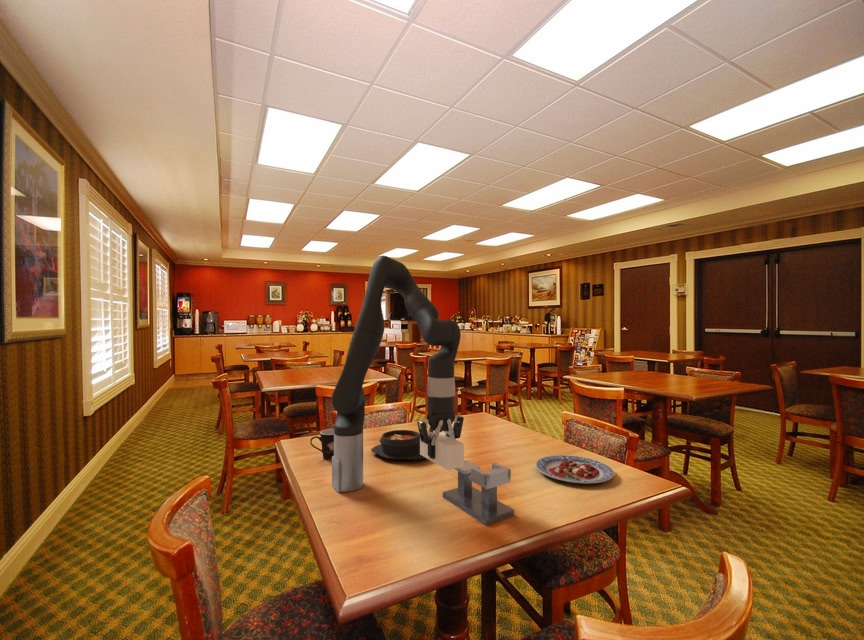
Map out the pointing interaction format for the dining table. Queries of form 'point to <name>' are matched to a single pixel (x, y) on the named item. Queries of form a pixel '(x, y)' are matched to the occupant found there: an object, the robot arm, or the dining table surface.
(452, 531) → the dining table surface
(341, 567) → the dining table surface
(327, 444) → the coffee mug
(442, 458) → the white rectangular block
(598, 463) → the ceramic plate
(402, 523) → the dining table surface
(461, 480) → the stand
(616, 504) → the dining table surface
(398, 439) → the casserole
